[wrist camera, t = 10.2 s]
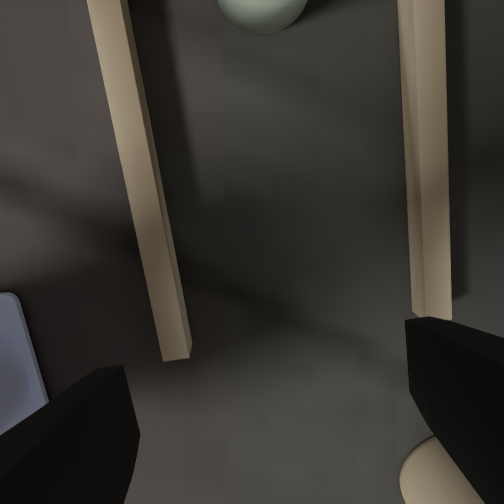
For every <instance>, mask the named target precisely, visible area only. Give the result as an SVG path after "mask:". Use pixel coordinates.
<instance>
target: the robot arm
mask: <svg viewBox="0 0 504 504" xmlns="http://www.w3.org/2000/svg"><path fill="white" fill-rule="evenodd" d="M405 331H406V346H407V361H408V376H409V392H410V393H411V395H412V397H413V399H414V401H415V403H416V405H417V407H418V409H419V411H420V412H421V414H422V416H423V418H424V420H425V421H426V423H427V425H428V427H429V428H430V429H431V431H432V432H433V434H434V435H435V436H436V438H437V439H438V441H439V442H440V443H441V445H442V446H443V447H444V449H445V450H446V452H447V453H448V454H449V456H450V457H451V458H452V460H453V461H454V463H455V464H456V465H457V467H458V468H459V469H460V471H461V472H462V473H463V475H464V476H465V478H466V479H467V480H468V482H469V483H470V484H471V486H472V487H473V488H474V490H475V491H476V492H477V494H478V495H479V497H480V498H481V499H482V501H483V502H484V503H485V504H504V338H502V337H499V336H496V335H493V334H489V333H486V332H483V331H480V330H477V329H474V328H471V327H467V326H464V325H461V324H458V323H455V322H451V321H448V320H444V319H440V318H436V317H430V316H427V317H421V318H414V319H408V320H405ZM139 440H140V431H139V427H138V423H137V419H136V415H135V411H134V407H133V403H132V399H131V395H130V391H129V387H128V383H127V379H126V375H125V371H124V367H123V365H118V366H111V367H105V368H99V369H97V370H95V371H93V372H91V373H90V374H88V375H87V376H85V377H84V378H82V379H81V380H79V381H78V382H76V383H75V384H73V385H72V386H70V387H69V388H68V389H66V390H65V391H63V392H62V393H61V394H59V395H58V396H56V397H55V398H54V399H52V400H51V401H49V400H48V397H47V393H46V390H45V386H44V383H43V379H42V376H41V373H40V369H39V366H38V362H37V359H36V356H35V352H34V349H33V345H32V342H31V338H30V335H29V332H28V328H27V325H26V321H25V318H24V315H23V311H22V308H21V304H20V301H19V299H18V297H17V296H16V295H15V294H13V293H10V292H4V293H0V504H124V501H125V497H126V494H127V491H128V488H129V485H130V482H131V479H132V475H133V472H134V467H135V462H136V457H137V451H138V445H139Z"/></svg>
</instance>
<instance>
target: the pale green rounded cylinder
mask: <svg viewBox="0 0 504 504" xmlns="http://www.w3.org/2000/svg"><path fill="white" fill-rule="evenodd" d="M216 1H217V3H218V5H219V7H220V9H221V11H222V12H223V14H224V15H225V17H226V18H227V19H228V20H229V21H230V22H231V23H232V24H233V25H235V26H236V27H237V28H239V29H241V30H243V31H245V32H247V33H250V34H255V35H269V34H274V33H277V32H280V31H282V30H284V29H285V28H287V27H288V26H290V25H291V24H292V23H293V22H294V21H295V20H296V19H297V18H298V17H299V15H300V14H301V12H302V11H303V9H304V7H305V5H306V3H307V1H308V0H216Z"/></svg>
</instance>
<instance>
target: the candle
mask: <svg viewBox="0 0 504 504" xmlns="http://www.w3.org/2000/svg"><path fill="white" fill-rule="evenodd" d="M400 488H401V492H402V495H403V498H404V500H405V502H406V504H485V503H484V502H483V501H482V499H481V498H480V497H479V495H478V494H477V492H476V491H475V490H474V488H473V487H472V486H471V484H470V483H469V482H468V480H467V479H466V478H465V476H464V475H463V473H462V472H461V471H460V469H459V468H458V467H457V465H456V464H455V463H454V461H453V460H452V458H451V457H450V456H449V454H448V453H447V452H446V450H445V449H444V447H443V446H442V445H441V443H440V442H439V441H438V439H437V438H436V436H435V437H432V438H430V439H428V440H426V441H424V442H422V443H421V444H419V445H418V446H417V447H416V448H415V449H414V450H413V451H412V452H411V453H410V454H409V455H408V457H407V458H406V460H405V461H404V463H403V466H402V468H401V472H400Z"/></svg>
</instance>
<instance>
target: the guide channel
mask: <svg viewBox="0 0 504 504" xmlns="http://www.w3.org/2000/svg"><path fill="white" fill-rule="evenodd" d="M87 4H88V8H89V13H90V18H91V23H92V27H93V32H94V37H95V42H96V46H97V51H98V56H99V61H100V65H101V70H102V75H103V79H104V84H105V89H106V94H107V98H108V103H109V108H110V113H111V117H112V122H113V127H114V132H115V136H116V141H117V146H118V150H119V155H120V160H121V165H122V169H123V174H124V179H125V184H126V188H127V193H128V198H129V203H130V207H131V212H132V217H133V222H134V226H135V231H136V236H137V240H138V245H139V250H140V255H141V259H142V264H143V269H144V274H145V278H146V283H147V288H148V293H149V297H150V302H151V307H152V311H153V316H154V321H155V326H156V330H157V335H158V340H159V345H160V349H161V354H162V359H163V362H165V361H172V360H179V359H186V358H189V356H190V352H191V347H192V338H191V333H190V328H189V322H188V317H187V312H186V307H185V301H184V296H183V291H182V286H181V280H180V275H179V270H178V265H177V259H176V254H175V249H174V243H173V238H172V233H171V228H170V222H169V217H168V212H167V207H166V201H165V196H164V191H163V186H162V180H161V175H160V170H159V164H158V159H157V154H156V149H155V143H154V138H153V133H152V128H151V122H150V117H149V112H148V107H147V101H146V96H145V91H144V86H143V80H142V75H141V70H140V64H139V59H138V54H137V49H136V43H135V38H134V33H133V28H132V22H131V17H130V12H129V7H128V1H127V0H87ZM397 4H398V24H399V45H400V66H401V87H402V107H403V128H404V149H405V170H406V190H407V211H408V232H409V253H410V273H411V294H412V311H413V312H414V313H415V314H416V315H417V316H419V317H420V318H421V317H427V316H430V317H436V318H440V319H444V320H451V319H452V302H451V260H450V217H449V175H448V132H447V90H446V47H445V4H444V0H397Z"/></svg>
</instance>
